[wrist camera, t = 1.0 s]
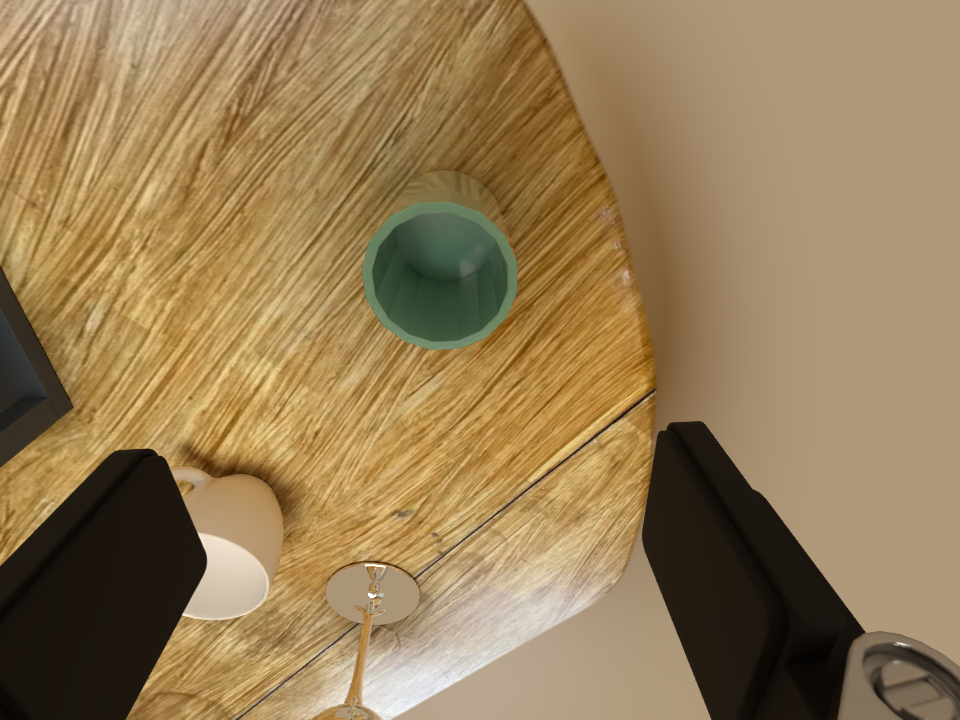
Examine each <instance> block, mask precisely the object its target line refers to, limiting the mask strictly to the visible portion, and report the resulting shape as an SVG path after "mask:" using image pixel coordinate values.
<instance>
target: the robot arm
mask: <svg viewBox="0 0 960 720" xmlns="http://www.w3.org/2000/svg"><path fill="white" fill-rule="evenodd" d="M642 541H643V546H644V550H645V553H646V555H647V558H648V561H649V563H650V566H651V568H652V571H653V573H654V576H655V578H656V581H657V583H658V586H659V588H660V591H661V593H662V596H663V598H664V601H665V604H666V606H667V609H668V611H669V614H670V616H671V619H672V621H673V624H674V626H675V628H676V631H677V634H678V636H679V639H680V641H681V644H682V646H683V649H684V652H685V654H686V657H687V659H688V662H689V664H690V667H691V669H692V672H693V674H694V677H695V679H696V681H697V684H698V687H699V689H700V692H701V694H702V697H703V699H704V702H705V705H706V707H707V710H708V712H709V715H710V717H711V719H712V720H960V667H959V666H958V665H956V664H955V663H954V662H953V661H951V660H950V659H949V658H947V657H946V656H945V655H943V654H942V653H940V652H938V651H936V650H935V649H933V648H931V647H929V646H927V645H926V644H924V643H922V642H920V641H917V640H915V639H912V638H909V637H906V636H903V635H901V634H896V633H889V632H882V631H878V632H871V633H866V632H865V631H864V630H863V628H862V627H861V625H860V624H859V623H858V621H857V620H856V619H855V618H854V616H853V615H852V613H851V612H850V611H849V609H848V608H847V607H846V605H845V604H844V603H843V601H842V600H841V599H840V597H839V596H838V595H837V593H836V592H835V591H834V589H833V588H832V587H831V585H830V584H829V583H828V581H827V580H826V579H825V577H824V576H823V575H822V573H821V572H820V571H819V569H818V568H817V567H816V565H815V564H814V563H813V561H812V560H811V559H810V557H809V556H808V555H807V553H806V552H805V550H804V549H803V548H802V546H801V545H800V544H799V543H798V541H797V540H796V538H795V537H794V536H793V534H792V533H791V532H790V530H789V529H788V528H787V526H786V525H785V524H784V522H783V521H782V520H781V518H780V517H779V516H778V514H777V513H776V512H775V510H774V509H773V508H772V506H771V505H770V504H769V502H768V501H767V500H766V498H764V496H763V495H762V494H761V493H759V492H758V491H756V490H753V489H752V488H751V487H750V485H749V484H748V483H747V481H746V480H745V478H744V477H743V475H742V474H741V473H740V471H739V470H738V469H737V467H736V466H735V464H734V463H733V462H732V460H731V459H730V458H729V456H728V455H727V454H726V452H725V451H724V449H723V448H722V447H721V445H720V444H719V443H718V441H717V440H716V439H715V437H714V436H713V434H712V433H711V432H710V430H709V429H708V428H707V426H706V425H705V424H704V423H703V422H700V421H694V422H675V423H674V422H673V423H670V424H669V425H668V426H667V429H666V431H660V432H659V433H658V436H657V441H656V448H655V454H654V460H653V467H652V473H651V479H650V485H649V492H648V498H647V504H646V511H645V517H644V523H643V529H642ZM206 567H207V554H206V551H205V549H204V547H203V544H202V542H201V540H200V537H199V535H198V533H197V530H196V528H195V526H194V523H193V521H192V519H191V516H190V514H189V512H188V510H187V507H186V505H185V503H184V500H183V498H182V496H181V493H180V491H179V489H178V486H177V484H176V482H175V479H174V477H173V475H172V472H171V470H170V468H169V465H168V463H167V461H166V459H165V458H164V457H162V456H158V454H157V453H156V452H155V451H154V450H153V449H129V450H118V451H114V452H113V453H112V454H110V455H109V456H108V457H107V458H106V459H105V460H104V461H103V462H102V463H101V464H100V465H99V466H98V467H97V468H96V469H95V470H94V471H93V472H92V473H91V474H90V475H89V476H88V477H87V478H86V479H85V481H84V482H83V483H82V484H81V485H80V486H79V487H78V488H77V489H76V490H75V491H74V492H73V493H72V494H71V495H70V496H69V497H68V498H67V499H66V500H65V501H64V502H63V503H62V504H61V505H60V506H59V507H58V508H57V509H56V510H55V511H54V512H53V513H52V514H51V515H50V516H49V517H48V518H47V519H46V520H45V521H44V522H43V523H42V524H41V525H40V526H39V527H38V528H37V529H36V530H35V531H34V532H33V533H32V534H31V536H30V537H29V538H28V539H27V540H26V541H25V542H24V543H23V544H22V545H21V546H20V547H19V548H18V549H17V550H16V551H15V552H14V553H13V554H12V555H11V556H10V557H9V558H8V559H7V560H6V561H5V562H4V563H3V564H2V565H1V566H0V720H126V718H127V716H128V714H129V712H130V711H131V709H132V707H133V705H134V703H135V701H136V700H137V698H138V696H139V694H140V692H141V690H142V688H143V687H144V685H145V683H146V681H147V679H148V677H149V675H150V674H151V672H152V670H153V668H154V666H155V664H156V663H157V661H158V659H159V657H160V655H161V653H162V651H163V650H164V648H165V646H166V644H167V642H168V640H169V639H170V637H171V635H172V633H173V631H174V629H175V627H176V626H177V624H178V622H179V620H180V618H181V616H182V614H183V613H184V611H185V609H186V607H187V605H188V603H189V602H190V600H191V598H192V596H193V594H194V592H195V590H196V589H197V587H198V585H199V583H200V581H201V579H202V577H203V576H204V573H205V571H206Z"/></svg>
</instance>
